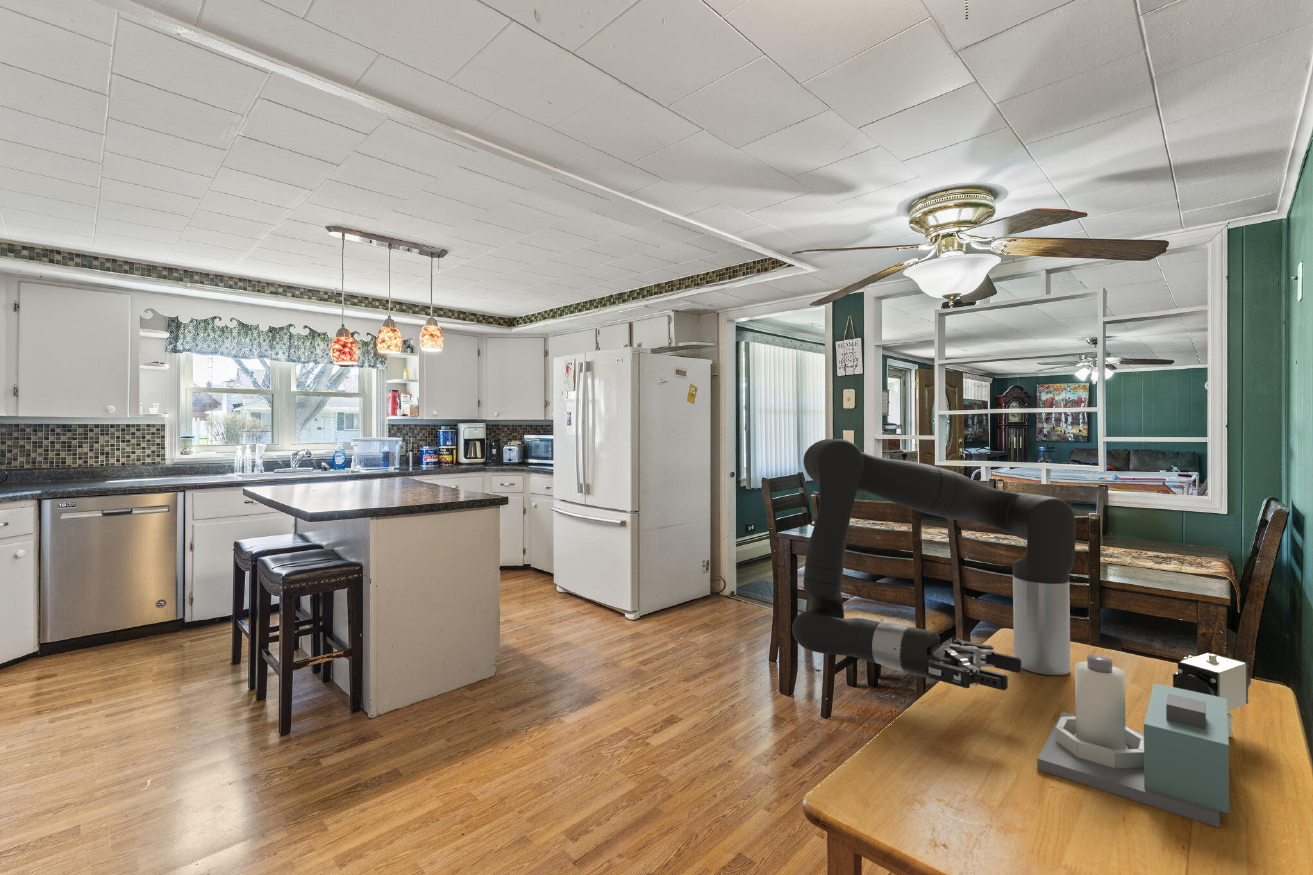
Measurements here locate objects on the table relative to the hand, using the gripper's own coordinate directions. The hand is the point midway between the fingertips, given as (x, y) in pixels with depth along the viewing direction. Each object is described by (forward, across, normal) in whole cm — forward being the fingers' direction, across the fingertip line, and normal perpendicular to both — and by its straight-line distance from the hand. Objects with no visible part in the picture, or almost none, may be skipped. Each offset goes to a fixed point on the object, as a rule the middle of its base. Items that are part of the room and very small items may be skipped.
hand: (1014, 674), depth 91 cm
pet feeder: (+14, 0, +9) cm, 17 cm away
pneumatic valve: (+22, +19, +9) cm, 30 cm away
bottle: (+10, 0, +8) cm, 13 cm away
